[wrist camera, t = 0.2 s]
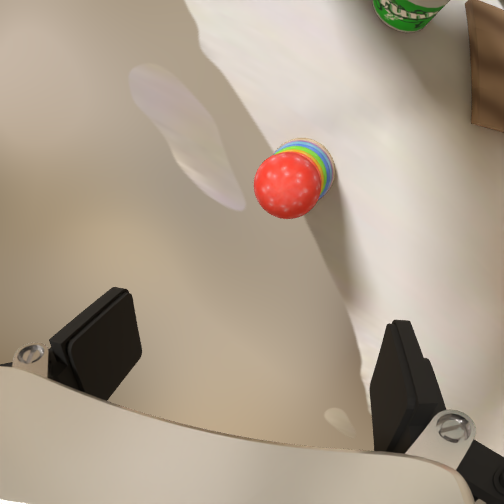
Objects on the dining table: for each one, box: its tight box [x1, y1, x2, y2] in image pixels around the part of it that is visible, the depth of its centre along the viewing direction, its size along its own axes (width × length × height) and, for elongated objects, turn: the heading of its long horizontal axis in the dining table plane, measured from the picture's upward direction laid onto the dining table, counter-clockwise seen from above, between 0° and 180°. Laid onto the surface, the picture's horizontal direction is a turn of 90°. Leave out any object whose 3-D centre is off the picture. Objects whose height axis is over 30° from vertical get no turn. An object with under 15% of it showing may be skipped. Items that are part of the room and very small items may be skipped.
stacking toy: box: [254, 138, 335, 219], centre depth 31 cm, size 8×8×19 cm
